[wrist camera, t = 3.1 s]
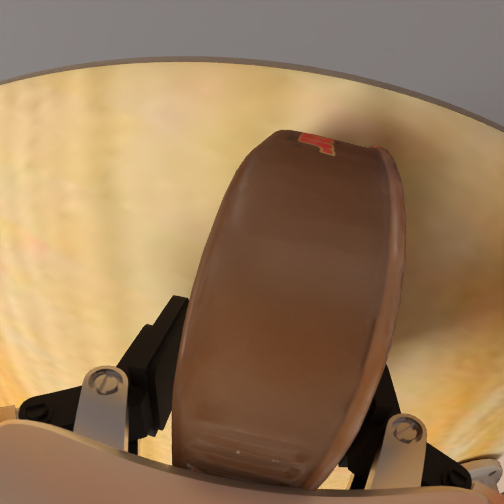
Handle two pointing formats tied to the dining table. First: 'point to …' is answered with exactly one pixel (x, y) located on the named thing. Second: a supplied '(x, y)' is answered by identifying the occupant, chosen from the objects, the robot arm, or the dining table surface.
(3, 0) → the charcoal mat
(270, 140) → the tin
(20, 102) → the dining table surface
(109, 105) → the dining table surface
